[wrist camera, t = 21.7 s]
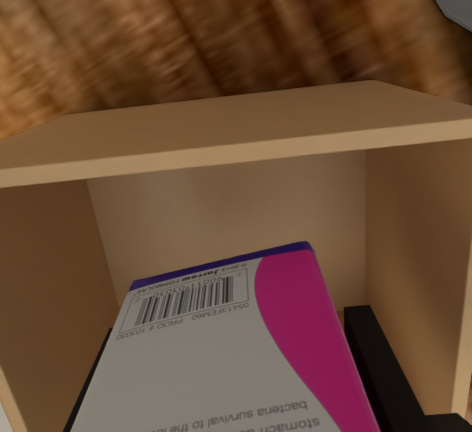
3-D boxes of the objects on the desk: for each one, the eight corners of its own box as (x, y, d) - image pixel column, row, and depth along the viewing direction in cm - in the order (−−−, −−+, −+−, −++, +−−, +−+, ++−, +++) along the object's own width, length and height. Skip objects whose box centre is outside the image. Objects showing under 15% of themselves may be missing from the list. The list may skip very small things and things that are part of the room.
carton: (120, 331, 25) (47, 511, 16) (63, 114, 20) (-97, 179, 11) (371, 309, 25) (457, 484, 15) (374, 79, 20) (506, 114, 10)
